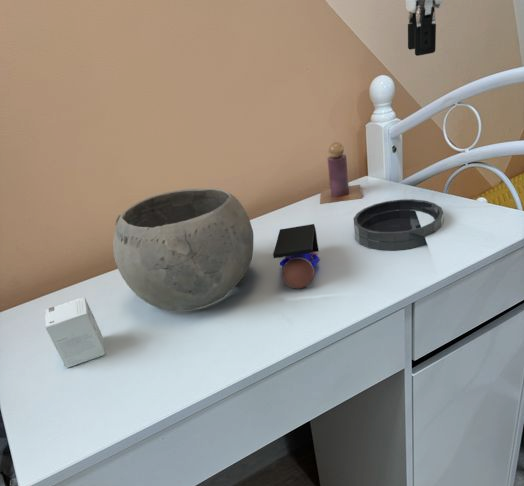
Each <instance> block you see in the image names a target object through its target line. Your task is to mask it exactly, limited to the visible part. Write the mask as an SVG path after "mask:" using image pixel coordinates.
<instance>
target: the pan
mask: <svg viewBox="0 0 524 486" xmlns="http://www.w3.org/2000/svg"><path fill="white" fill-rule="evenodd" d="M417 212H421V213H422V214H423V213H424V214H427V215H429V216H430V217H431V218H433V221H432V222H430V223H428V224H426V225H422V226H421V223H420V220H419V216H418V214H417ZM444 215H445V214H444V209H443V208H442V207H441V206H440V205H438V204H437V203H434V202H432V201H428V200H425V199H423V200H422V199H413V198H411V199H410V198H406V199H405V198H403V199H393V200H387V201H382V202H378V203H374V204H372V205H369V206H367V207H364V208H363V209H361V210H360V211H358V212H357V213H356V214H355V216H354V217H353V230H354V240H355V241H356V242H357V243H358V244H359V245H360V246H363V247H365V248H369V249H372V250H377V251H378V250H379V251H402V250H411V249H415V248H419V247H422V246H426V245H427V244H428V242H427V240H426V237H428V236H430V235H432V234H434V233H436V232H437V231H438V230H440V229H441V228H442V227H443V224H444Z"/></svg>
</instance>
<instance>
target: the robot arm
mask: <svg viewBox="0 0 524 486" xmlns="http://www.w3.org/2000/svg"><path fill="white" fill-rule="evenodd" d="M443 5H444V0H405V9H406V11H408V23H407V49H408V50H410V51H411V50H414V55H415V56H416V57H419V56H424V55H429V54H434V53H435V52H436V44H437V43H436V42H437V37H436V36H437V24H436V10H435V9H440V8H441V7H442V6H443Z"/></svg>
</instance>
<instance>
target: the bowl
mask: <svg viewBox="0 0 524 486" xmlns="http://www.w3.org/2000/svg"><path fill="white" fill-rule="evenodd" d="M114 231H115V232H114V234H113V241H112V242H113V243H112V246H113V247H112V248H113V249H112V250H113V257H114V262H115V265H116V267H117V269H118V272H119V274H120V276H121V277H122V279H123V280H124V282H125V284H126V285H127V286H128V288H129V289H130V290H131V291H132V292H133V293H134V294H135V295H136V296H137V297H138V298H140V299H141V300H142V301H143V302H145V303H147V304H148V305H151V306H153V307H155V308H158V309H160V310H166V311H187V310H194V309H199V308H203V307H206V306H208V305H210V304H213V303H215V302H217V301H219V300H221V299H222V298H224V297H225V296H226V295H228V294H229V293H230V292H231V291H233V289H234V288H235V287H236V286H237V285H238V284H239V282H240V281H241V280H242V279H243V277H244V276H245V275H246V273H247V271H248V269H249V268H250V265H251V262H252V259H253V254H254V235H255V234H254V229H253V227H252V223H251V220H250V217H249V215H248V213H247V211H246V210H245V207H244V206H243V204H242V203H241V202H240V200H239V199H238V198H237V197H236V196H235V195H233V194H232V193H230V192H228V191H227V190H224V189H222V188H214V187H199V188H185V189H178V190H170V191H166V192H161V193H157V194H154V195H151V196H149V197H147V198H144V199H142V200H140V201H138V202H136V203H134V204H132V205H130V206H129V207H128V208H126V209H124V210H123V211H122V213H121V214H118V216H117V218H116V220H115V230H114Z"/></svg>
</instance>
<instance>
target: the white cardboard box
mask: <svg viewBox="0 0 524 486" xmlns="http://www.w3.org/2000/svg"><path fill="white" fill-rule="evenodd" d="M44 328H45V331H46V332H47V335H48V336H49V338H50V340H51V342H52V344H53V347H54V348H55V350H56V352H57V354H58V356H59V358H60V359H61V362H62V363H63V366H64V367H65V368H66V369H68V368H71V367H74V366H78V365H79V364H83V363H85V362H88V361H91V360H94V359H97V358H100V357H102V356H105V354H106V352H105V347H104V340H103V339H104V337H103V334H102V331H101V329H100V327H99V325H98V323H97V320H96V318H95V316H94V314H93V311H92V309H91V307H90V305H89V303H88V301H87V298H86V297H85V296H82V297H79V298H76V299H73V300H70V301H67V302H64V303H61V304H58V305H55V306H52V307H49V308H46V309H45V316H44Z"/></svg>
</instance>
